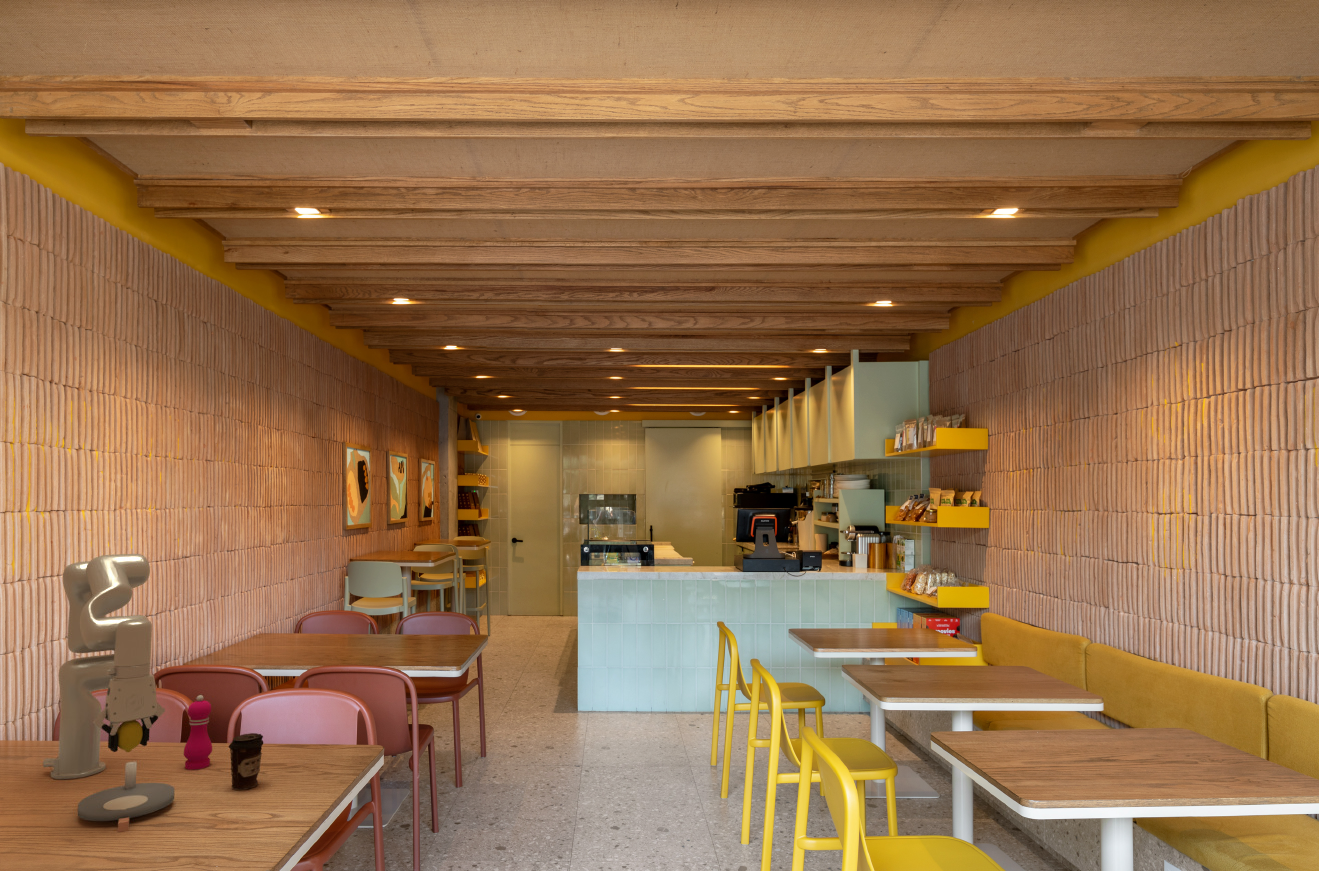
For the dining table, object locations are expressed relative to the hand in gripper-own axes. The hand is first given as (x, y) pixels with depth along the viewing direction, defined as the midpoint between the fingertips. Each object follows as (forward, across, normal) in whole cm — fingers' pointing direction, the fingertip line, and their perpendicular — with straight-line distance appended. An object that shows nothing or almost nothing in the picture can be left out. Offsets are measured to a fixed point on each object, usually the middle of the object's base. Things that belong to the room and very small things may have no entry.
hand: (128, 746), depth 201 cm
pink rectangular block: (+17, -3, -7) cm, 18 cm away
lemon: (+1, 0, 0) cm, 1 cm away
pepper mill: (+17, +27, +28) cm, 42 cm away
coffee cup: (+17, +28, +1) cm, 33 cm away
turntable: (+15, +2, +5) cm, 16 cm away
